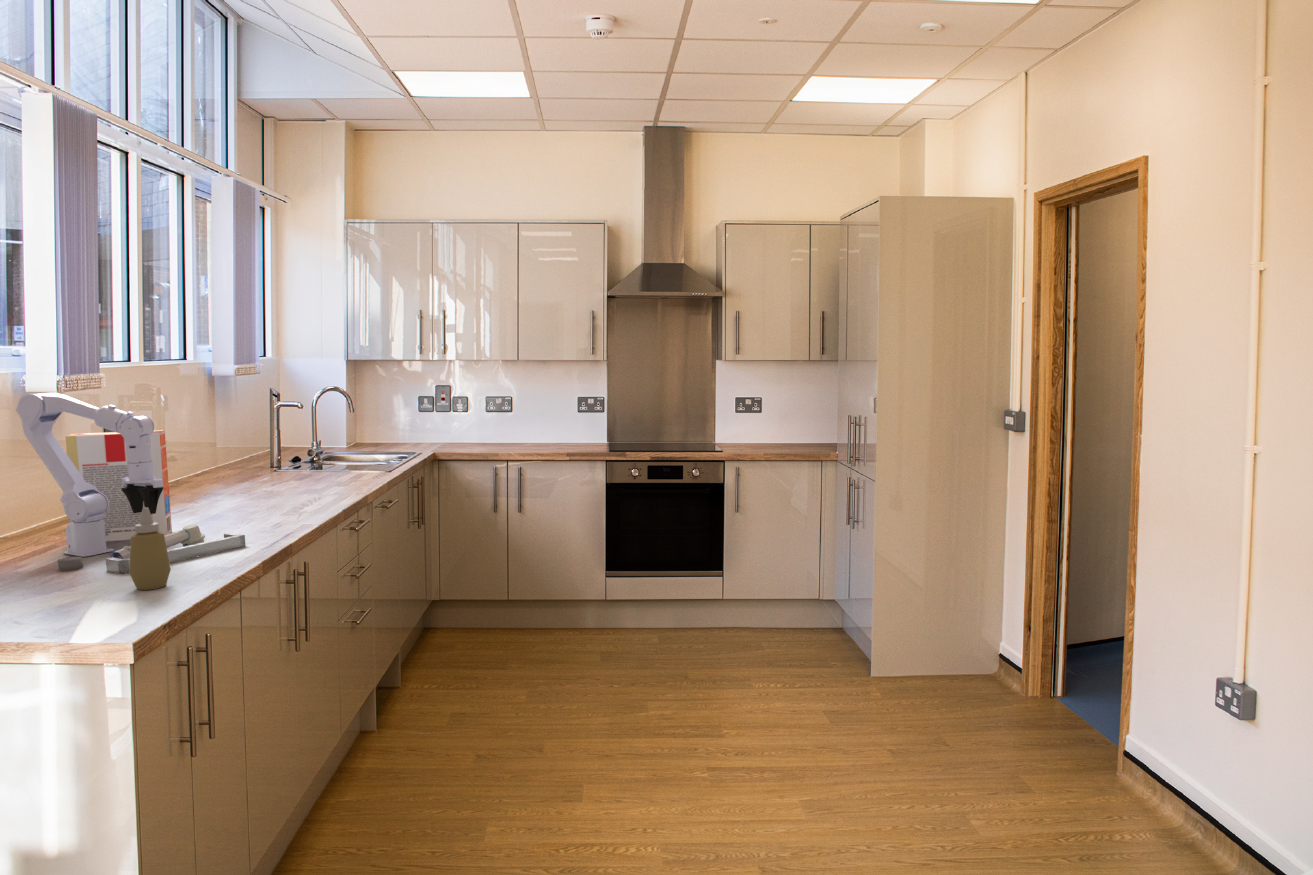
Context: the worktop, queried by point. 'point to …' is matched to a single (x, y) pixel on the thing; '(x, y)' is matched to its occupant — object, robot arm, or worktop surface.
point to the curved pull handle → (184, 552)
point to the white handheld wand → (170, 540)
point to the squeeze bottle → (148, 555)
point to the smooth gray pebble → (70, 563)
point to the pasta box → (119, 478)
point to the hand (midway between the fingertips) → (144, 513)
